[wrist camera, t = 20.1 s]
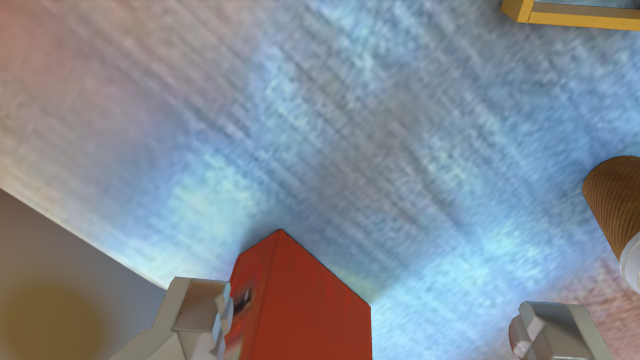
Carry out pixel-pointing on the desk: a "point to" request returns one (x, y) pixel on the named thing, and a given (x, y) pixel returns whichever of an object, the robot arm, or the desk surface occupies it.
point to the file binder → (293, 308)
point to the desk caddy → (572, 15)
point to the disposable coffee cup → (618, 211)
